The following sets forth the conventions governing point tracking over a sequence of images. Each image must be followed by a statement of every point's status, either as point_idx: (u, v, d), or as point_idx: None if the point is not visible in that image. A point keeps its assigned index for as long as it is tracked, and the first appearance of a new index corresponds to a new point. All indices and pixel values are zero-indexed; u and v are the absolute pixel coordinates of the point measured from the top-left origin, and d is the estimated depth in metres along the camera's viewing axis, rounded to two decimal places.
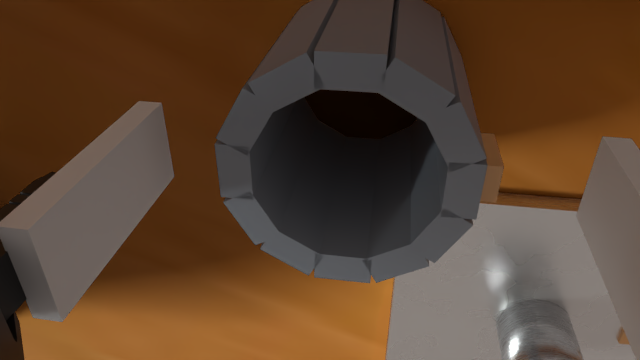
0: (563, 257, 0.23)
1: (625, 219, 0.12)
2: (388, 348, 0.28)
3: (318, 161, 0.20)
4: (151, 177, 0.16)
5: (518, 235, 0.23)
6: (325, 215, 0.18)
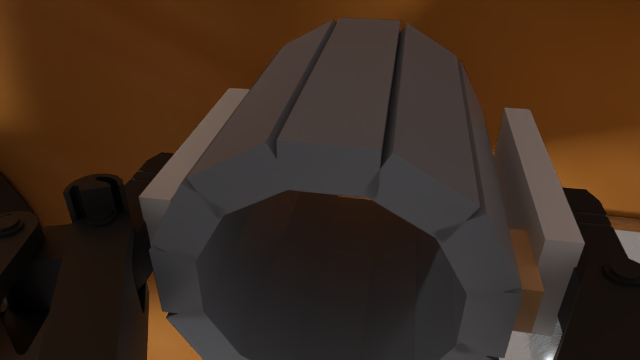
0: None
1: (511, 177, 0.14)
2: None
3: (302, 237, 0.16)
4: None
5: None
6: (306, 319, 0.14)
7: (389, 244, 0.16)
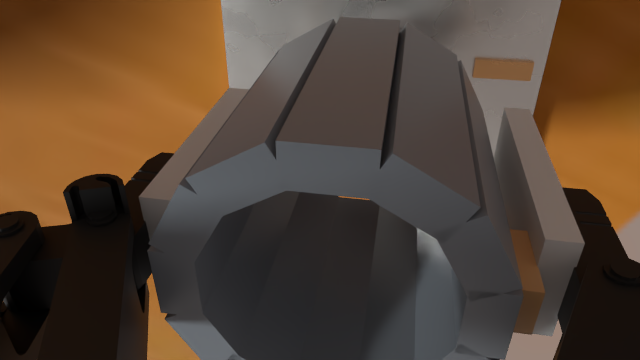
0: None
1: (511, 177, 0.14)
2: None
3: (301, 237, 0.16)
4: None
5: None
6: (305, 320, 0.14)
7: (389, 245, 0.16)
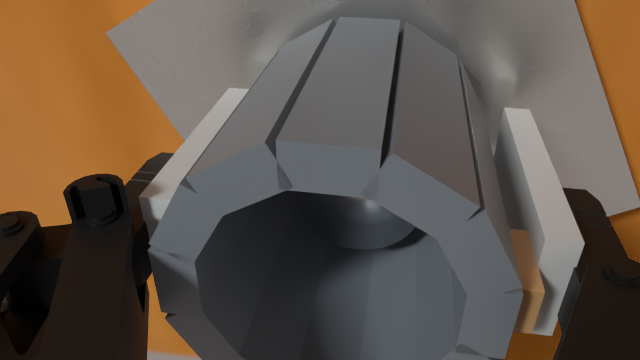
0: (503, 75, 0.17)
1: (511, 177, 0.14)
2: None
3: (302, 237, 0.16)
4: None
5: None
6: (305, 319, 0.14)
7: None
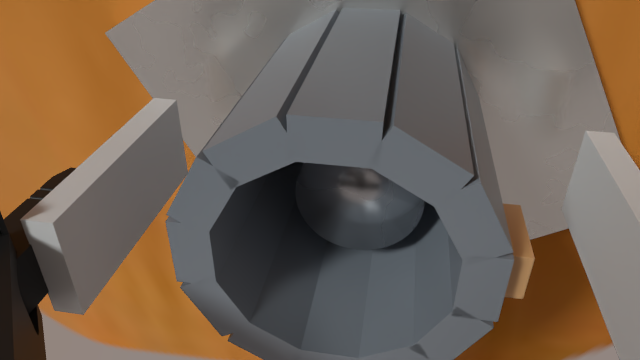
0: (503, 75, 0.17)
1: (606, 211, 0.13)
2: None
3: None
4: (166, 173, 0.16)
5: None
6: (311, 292, 0.15)
7: None
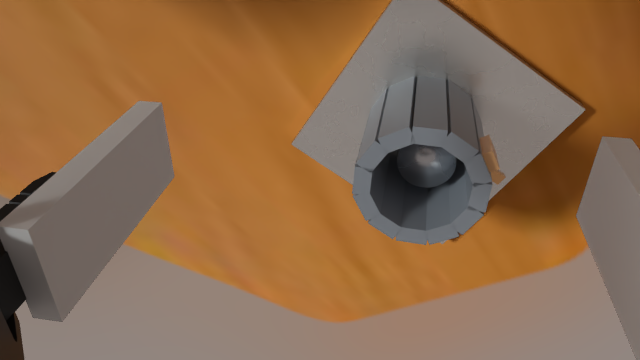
0: (476, 81, 0.33)
1: (625, 219, 0.12)
2: (320, 104, 0.36)
3: (413, 185, 0.35)
4: (151, 177, 0.16)
5: (459, 49, 0.33)
6: (424, 211, 0.32)
7: (454, 172, 0.34)
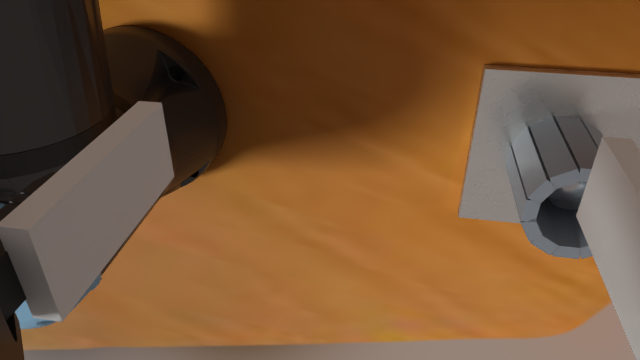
0: (578, 106, 0.40)
1: (625, 220, 0.12)
2: (465, 179, 0.45)
3: None
4: (151, 177, 0.16)
5: (551, 93, 0.40)
6: None
7: None
